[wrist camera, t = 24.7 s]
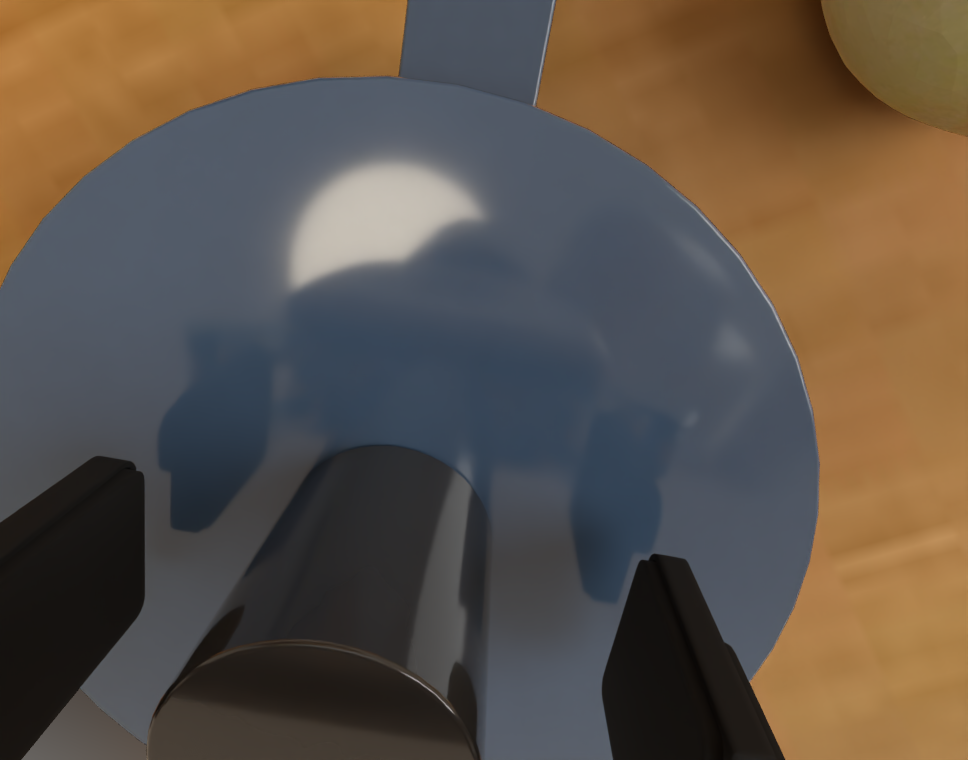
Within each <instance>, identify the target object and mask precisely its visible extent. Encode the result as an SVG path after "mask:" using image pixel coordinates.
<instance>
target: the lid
mask: <svg viewBox="0 0 968 760" xmlns="http://www.w3.org/2000/svg"><path fill="white" fill-rule="evenodd" d="M95 456H104V457H110V458H116V459H122V460H127V461H132V462H133V463H134V464H135V466H136V471H141V472H142V473H143V475H144V480H145V600H144V604H143V607H142V610H141V612H140V614H139V616H138V617H137V619H136V620H135V621H134V622H133V624H132V625H131V626H130V627H129V628H128V630H127V631H126V632H125V633H124V635H123V636H122V637H121V638H120V639H119V641H118V642H117V643H116V644H115V646H114V647H113V648H112V649H111V650H110V652H109V653H108V654H107V655H106V657H105V658H104V659H103V660H102V662H101V663H100V664H99V665H98V666H97V668H96V669H95V670H94V671H93V673H92V674H91V675H90V676H89V677H88V679H87V680H86V681H85V682H84V684H83V685H82V686H81V687H80V689H81V690H82V691H83V692H84V693H85V694H86V695H87V696H88V697H89V698H90V699H91V700H92V701H93V702H94V703H95V704H96V705H97V706H98V707H99V708H100V709H101V710H102V711H103V712H104V713H106V714H107V715H108V716H109V717H110V718H112V719H113V720H114V721H115V722H117V723H118V724H119V725H120V726H122V727H123V728H124V729H125V730H127V731H128V732H129V733H130V734H132V735H133V736H134V737H135V738H137V739H138V740H139V741H141V742H142V743H144V744H146V745H147V748H146V755H147V760H613V757H612V751H611V746H610V740H609V734H608V729H607V723H606V717H605V712H604V706H603V700H602V679H603V675H604V671H605V668H606V665H607V661H608V658H609V655H610V652H611V649H612V645H613V642H614V639H615V636H616V632H617V629H618V626H619V623H620V620H621V616H622V613H623V610H624V607H625V604H626V600H627V597H628V594H629V591H630V587H631V584H632V581H633V578H634V575H635V571H636V568H637V565H638V563H639V561H640V560H649V558H650V556H651V555H652V554H654V553H655V554H661V555H667V556H672V557H678V558H683V559H686V560H687V562H688V563H689V566H690V568H691V570H692V572H693V574H694V577H695V579H696V581H697V583H698V585H699V588H700V590H701V592H702V594H703V596H704V599H705V601H706V603H707V605H708V608H709V610H710V612H711V614H712V616H713V619H714V621H715V623H716V625H717V627H718V630H719V632H720V634H721V636H722V638H723V641H724V642H725V643H727V644H729V645H730V646H731V647H732V648H733V650H734V651H735V653H736V655H737V657H738V659H739V661H740V664H741V666H742V668H743V670H744V672H745V674H746V676H747V679H748V681H749V683H750V681H751V680H752V678H753V677H754V676H755V674H756V673H757V671H758V670H759V668H760V667H761V666H762V664H763V663H764V661H765V660H766V658H767V657H768V655H769V654H770V653H771V651H772V650H773V648H774V646H775V644H776V642H777V640H778V638H779V636H780V634H781V632H782V630H783V628H784V627H785V625H786V623H787V621H788V619H789V617H790V615H791V613H792V611H793V609H794V607H795V604H796V601H797V598H798V595H799V592H800V589H801V586H802V583H803V580H804V577H805V574H806V571H807V568H808V565H809V562H810V557H811V551H812V546H813V540H814V535H815V529H816V524H817V518H818V505H819V469H820V462H819V454H818V446H817V438H816V430H815V422H814V414H813V408H812V405H811V401H810V398H809V394H808V391H807V387H806V384H805V380H804V377H803V374H802V370H801V367H800V363H799V360H798V356H797V354H796V352H795V350H794V348H793V345H792V343H791V341H790V339H789V337H788V335H787V333H786V330H785V328H784V326H783V324H782V322H781V320H780V317H779V315H778V313H777V311H776V309H775V307H774V304H773V303H772V301H771V300H770V298H769V297H768V295H767V294H766V292H765V291H764V289H763V288H762V286H761V285H760V283H759V282H758V280H757V279H756V277H755V276H754V274H753V273H752V271H751V270H750V268H749V267H748V265H747V264H746V262H745V260H744V259H743V257H742V256H741V254H740V253H739V252H738V251H737V250H736V249H735V248H734V246H733V245H732V244H731V243H730V242H729V241H728V240H727V239H726V238H725V236H724V235H723V234H722V233H721V232H720V231H719V230H718V229H717V228H716V226H715V225H714V224H713V223H712V222H711V221H710V220H709V219H708V218H707V216H706V215H705V214H704V213H703V212H702V211H701V210H700V209H699V208H698V207H697V206H696V205H695V204H694V203H693V202H691V201H690V200H689V199H688V198H687V197H685V196H684V195H683V194H682V193H681V192H679V191H678V190H677V189H676V188H675V187H673V186H672V185H671V184H670V183H669V182H667V181H666V180H665V179H664V178H662V177H661V176H660V175H659V174H658V173H656V172H655V171H654V170H653V169H652V168H650V167H649V166H648V165H647V164H645V163H643V162H642V161H640V160H638V159H637V158H635V157H634V156H632V155H630V154H629V153H627V152H625V151H624V150H622V149H620V148H619V147H617V146H616V145H614V144H612V143H611V142H609V141H607V140H606V139H604V138H602V137H601V136H599V135H597V134H596V133H594V132H593V131H591V130H589V129H587V128H585V127H582V126H580V125H578V124H575V123H573V122H571V121H568V120H566V119H564V118H561V117H559V116H557V115H554V114H552V113H550V112H547V111H545V110H543V109H540V108H538V107H536V106H533V105H531V104H529V103H526V102H523V101H519V100H516V99H512V98H508V97H505V96H501V95H497V94H493V93H490V92H486V91H482V90H479V89H475V88H471V87H467V86H464V85H460V84H454V83H446V82H438V81H429V80H421V79H413V78H404V77H396V76H351V77H318V78H312V79H306V80H301V81H295V82H289V83H284V84H278V85H272V86H266V87H261V88H255V89H251V90H248V91H245V92H242V93H239V94H236V95H233V96H230V97H227V98H224V99H221V100H218V101H215V102H212V103H209V104H206V105H203V106H200V107H197V108H194V109H191V110H189V111H187V112H185V113H183V114H181V115H179V116H177V117H175V118H173V119H171V120H170V121H168V122H166V123H164V124H162V125H160V126H158V127H156V128H154V129H152V130H150V131H148V132H146V133H145V134H143V135H141V136H139V137H137V138H135V139H133V140H132V141H130V142H129V143H128V144H126V145H125V146H124V147H122V148H121V149H120V150H118V151H117V152H116V153H114V154H113V155H112V156H110V157H109V158H108V159H106V160H105V161H104V162H102V163H101V164H100V165H98V166H97V167H96V168H94V169H93V170H92V171H90V172H89V173H87V174H86V175H85V176H84V177H83V178H82V179H81V180H80V181H79V182H78V183H77V184H76V185H75V186H74V187H73V188H72V189H71V190H70V191H69V192H68V193H67V194H66V195H65V196H64V198H63V199H62V200H61V201H60V202H59V203H58V204H57V205H56V206H55V207H54V208H53V209H52V210H51V211H50V212H49V213H48V214H47V215H46V216H45V217H44V218H43V220H42V221H41V222H40V224H39V225H38V227H37V228H36V230H35V231H34V233H33V234H32V236H31V237H30V238H29V240H28V241H27V243H26V244H25V246H24V247H23V249H22V250H21V251H20V253H19V254H18V256H17V257H16V259H15V260H14V262H13V263H12V265H11V266H10V269H9V271H8V273H7V275H6V277H5V279H4V281H3V284H2V286H1V288H0V522H2V521H3V520H5V519H6V518H7V517H9V516H10V515H12V514H13V513H15V512H16V511H17V510H19V509H20V508H22V507H23V506H24V505H26V504H27V503H29V502H30V501H32V500H33V499H34V498H36V497H37V496H39V495H40V494H41V493H43V492H44V491H46V490H47V489H49V488H50V487H51V486H53V485H54V484H56V483H57V482H58V481H60V480H61V479H63V478H64V477H66V476H67V475H68V474H70V473H71V472H73V471H74V470H76V469H77V468H78V467H80V466H81V465H83V464H84V463H85V462H87V461H88V460H90V459H91V458H93V457H95Z"/></svg>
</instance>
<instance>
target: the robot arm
mask: <svg viewBox="0 0 968 760" xmlns="http://www.w3.org/2000/svg"><path fill="white" fill-rule="evenodd" d="M144 600H145V480H144V475H143V473H142V472H141V471H136V466H135V464H134V463H133V462H132V461H127V460H122V459H116V458H110V457H104V456H95V457H93V458H91V459H90V460H88V461H87V462H85V463H84V464H83V465H81V466H80V467H78V468H77V469H76V470H74V471H73V472H71V473H70V474H68V475H67V476H66V477H64V478H63V479H61V480H60V481H58V482H57V483H56V484H54V485H53V486H51V487H50V488H49V489H47V490H46V491H44V492H43V493H41V494H40V495H39V496H37V497H36V498H34V499H33V500H32V501H30V502H29V503H27V504H26V505H24V506H23V507H22V508H20V509H19V510H17V511H16V512H15V513H13V514H12V515H10V516H9V517H7V518H6V519H5V520H3V521H2V522H0V760H21V759H22V758H23V757H24V756H25V754H26V753H27V752H28V751H29V750H30V748H31V747H32V746H33V745H34V743H35V742H36V741H37V740H38V739H39V737H40V736H41V735H42V734H43V732H44V731H45V730H46V729H47V727H48V726H49V725H50V724H51V723H52V721H53V720H54V719H55V718H56V717H57V715H58V714H59V713H60V712H61V710H62V709H63V708H64V707H65V706H66V704H67V703H68V702H69V701H70V699H71V698H72V697H73V696H74V694H75V693H76V692H77V691H78V689H79V688H80V687H81V686H82V685H83V684H84V682H85V681H86V680H87V679H88V677H89V676H90V675H91V674H92V673H93V671H94V670H95V669H96V668H97V666H98V665H99V664H100V663H101V662H102V660H103V659H104V658H105V657H106V655H107V654H108V653H109V652H110V650H111V649H112V648H113V647H114V646H115V644H116V643H117V642H118V641H119V639H120V638H121V637H122V636H123V635H124V633H125V632H126V631H127V630H128V628H129V627H130V626H131V625H132V624H133V622H134V621H135V620H136V619H137V617H138V616H139V614H140V612H141V610H142V607H143V604H144ZM602 700H603V706H604V712H605V717H606V723H607V729H608V734H609V740H610V746H611V751H612V757H613V760H785V758H784V756H783V754H782V752H781V749H780V747H779V745H778V743H777V741H776V739H775V737H774V734H773V732H772V730H771V728H770V726H769V724H768V722H767V719H766V717H765V715H764V713H763V711H762V709H761V707H760V704H759V702H758V700H757V698H756V696H755V694H754V691H753V689H752V687H751V685H750V683H749V681H748V679H747V676H746V674H745V672H744V670H743V668H742V666H741V664H740V661H739V659H738V657H737V655H736V653H735V651H734V650H733V648H732V647H731V646H730V645H729V644H727V643H725V642H724V641H723V638H722V636H721V634H720V632H719V630H718V627H717V625H716V623H715V621H714V619H713V616H712V614H711V612H710V610H709V608H708V605H707V603H706V601H705V599H704V596H703V594H702V592H701V590H700V588H699V585H698V583H697V581H696V579H695V577H694V574H693V572H692V570H691V568H690V566H689V563H688V562H687V560H686V559H683V558H678V557H672V556H667V555H661V554H655V553H654V554H652V555H651V556H650V558H649V560H640V561H639V563H638V565H637V568H636V571H635V575H634V578H633V581H632V584H631V587H630V591H629V594H628V597H627V600H626V604H625V607H624V610H623V613H622V616H621V620H620V623H619V626H618V629H617V632H616V636H615V639H614V642H613V645H612V649H611V652H610V655H609V658H608V661H607V665H606V668H605V671H604V675H603V679H602Z"/></svg>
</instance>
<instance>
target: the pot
mask: <svg viewBox="0 0 968 760" xmlns="http://www.w3.org/2000/svg"><path fill="white" fill-rule="evenodd" d="M555 5H556V0H408V1H407V9H406V17H405V26H404V34H403V42H402V51H401V59H400V67H399V75H398V77H404V78H413V79H421V80H429V81H438V82H446V83H454V84H460V85H464V86H467V87H471V88H475V89H479V90H482V91H486V92H490V93H493V94H497V95H501V96H505V97H508V98H512V99H516V100H519V101H523V102H526V103H529V104H531V105H533V106H536V104H537V99H538V94H539V89H540V84H541V78H542V73H543V68H544V63H545V57H546V52H547V47H548V42H549V36H550V31H551V26H552V21H553V15H554V10H555Z"/></svg>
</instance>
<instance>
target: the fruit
mask: <svg viewBox="0 0 968 760" xmlns="http://www.w3.org/2000/svg"><path fill="white" fill-rule="evenodd" d="M821 5H822V10H823V14H824V18H825V21H826V24H827V28H828V31H829V34H830V37H831V39H832V41H833V43H834V45H835V47H836V49H837V51H838V53H839V55H840V57H841V59H842V60H843V62H844V64H845V66H846V67H847V68H848V69H849V70H850V71H851V73H852V74H853V75H854V76H855V77H856V78H857V79H858V81H859V82H860V83H861V84H862V85H863V86H864V87H866V88H867V89H868V90H869V91H870V92H871V93H872V94H873V95H874V96H875V97H876V98H878V99H879V100H881V101H882V102H884V103H885V104H887V105H888V106H890V107H891V108H893V109H895V110H896V111H898V112H900V113H902V114H904V115H906V116H908V117H910V118H912V119H915V120H917V121H920V122H922V123H925V124H927V125H930V126H933V127H936V128H939V129H942V130H945V131H948V132H952V133H956V134H959V135H963V136H968V0H821Z"/></svg>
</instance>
